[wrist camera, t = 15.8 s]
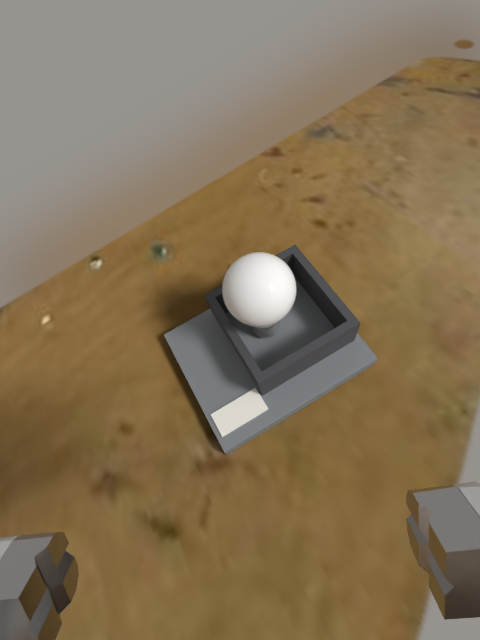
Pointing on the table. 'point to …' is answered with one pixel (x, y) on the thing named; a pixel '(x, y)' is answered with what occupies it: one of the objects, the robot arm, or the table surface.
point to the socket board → (269, 357)
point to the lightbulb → (259, 291)
